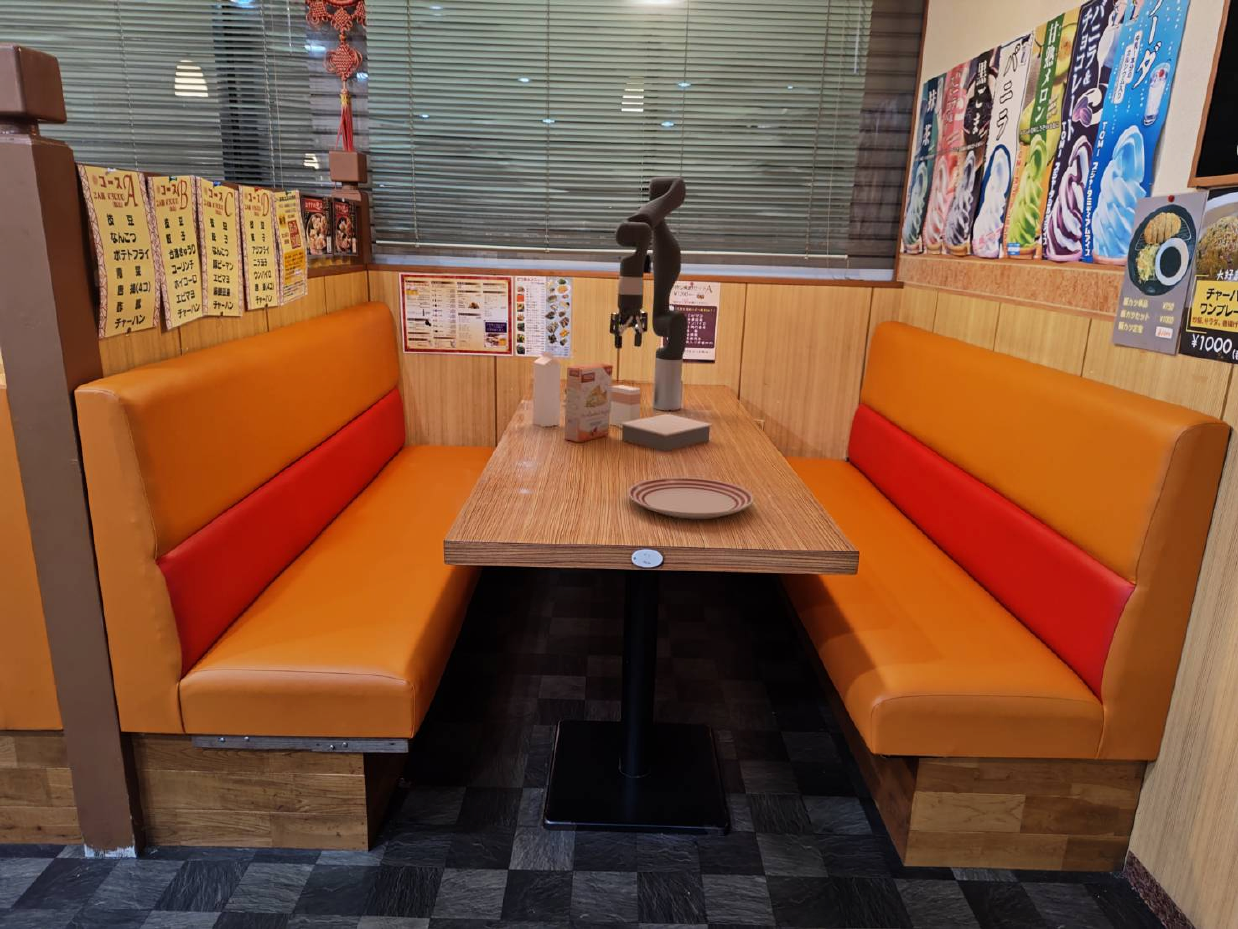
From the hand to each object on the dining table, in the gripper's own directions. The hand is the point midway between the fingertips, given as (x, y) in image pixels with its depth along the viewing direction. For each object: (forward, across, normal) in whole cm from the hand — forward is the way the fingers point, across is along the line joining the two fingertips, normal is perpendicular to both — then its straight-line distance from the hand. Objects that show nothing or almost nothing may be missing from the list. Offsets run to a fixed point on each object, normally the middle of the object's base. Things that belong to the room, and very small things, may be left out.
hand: (628, 347), depth 247 cm
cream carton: (+24, 0, 0) cm, 24 cm away
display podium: (+24, +4, +20) cm, 32 cm away
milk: (+24, +18, -16) cm, 34 cm away
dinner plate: (+25, +46, +62) cm, 81 cm away
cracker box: (+24, +20, +4) cm, 32 cm away
